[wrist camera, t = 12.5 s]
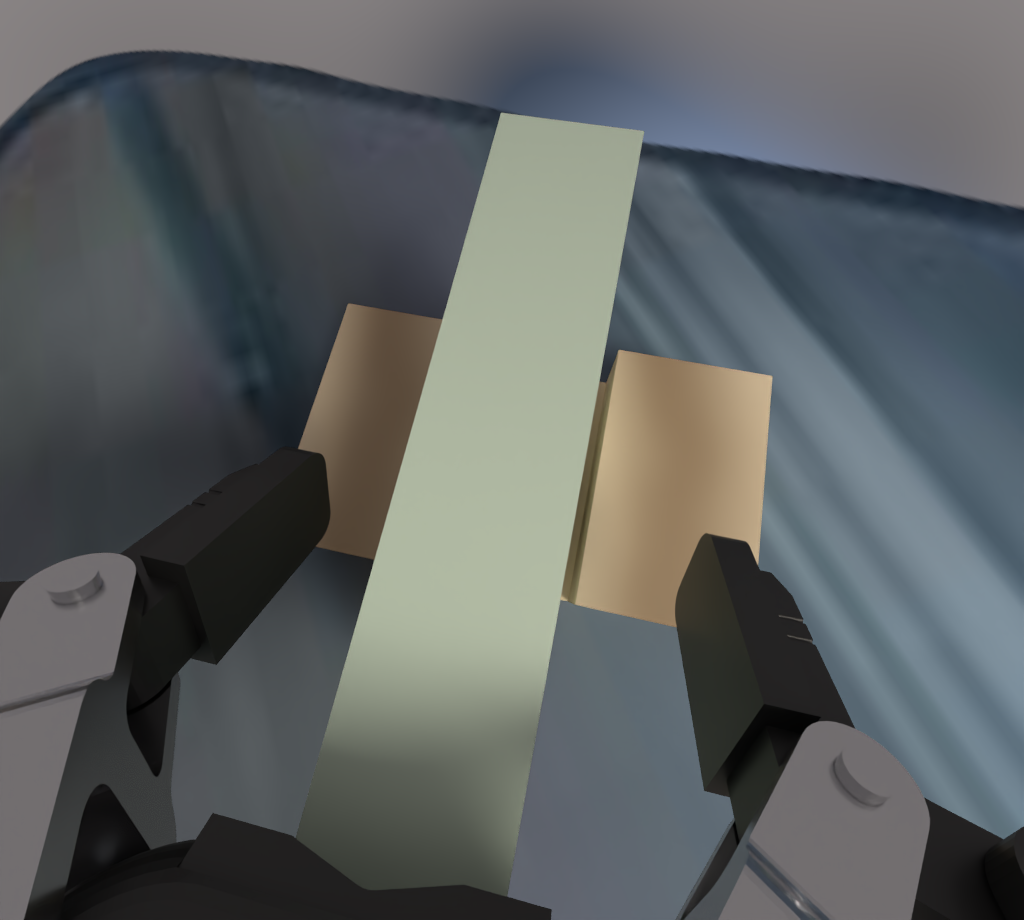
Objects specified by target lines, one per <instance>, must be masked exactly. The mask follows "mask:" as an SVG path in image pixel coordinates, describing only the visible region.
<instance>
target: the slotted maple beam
mask: <svg viewBox="0 0 1024 920" xmlns="http://www.w3.org/2000/svg"><path fill="white" fill-rule="evenodd" d="M442 320H443V319H437V318H431V317H425V316H419V315H413V314H408V313H402V312H396V311H390V310H384V309H378V308H373V307H367V306H361V305H355V304H349V303H348V306H347V309H346V311H345V314H344V317H343V320H342V323H341V326H340V329H339V332H338V335H337V338H336V340H335V343H334V346H333V349H332V352H331V355H330V358H329V361H328V364H327V366H326V369H325V372H324V375H323V378H322V381H321V384H320V387H319V390H318V392H317V395H316V398H315V401H314V404H313V407H312V410H311V413H310V416H309V419H308V421H307V424H306V427H305V430H304V433H303V436H302V439H301V442H300V445H299V447H298V449H301V450H306V451H311V452H316V453H320V454H322V455H323V457H324V458H325V462H326V470H327V480H328V490H329V500H330V511H331V514H330V521H329V525H328V528H327V531H326V533H325V535H324V536H323V538H322V539H321V541H320V542H319V543H318V544H317V545H316V547H319V548H324V549H328V550H333V551H337V552H342V553H346V554H351V555H355V556H360V557H364V558H369V559H373V560H375V556H376V553H377V549H378V546H379V542H380V539H381V535H382V532H383V528H384V525H385V521H386V518H387V514H388V510H389V507H390V503H391V500H392V496H393V493H394V489H395V486H396V482H397V479H398V475H399V472H400V468H401V465H402V461H403V458H404V454H405V450H406V447H407V443H408V440H409V436H410V433H411V429H412V426H413V422H414V419H415V415H416V412H417V408H418V405H419V401H420V398H421V394H422V390H423V387H424V383H425V380H426V376H427V373H428V369H429V366H430V362H431V359H432V355H433V352H434V348H435V345H436V341H437V338H438V334H439V330H440V327H441V323H442ZM771 387H772V376H769V375H763V374H757V373H751V372H745V371H740V370H734V369H728V368H722V367H716V366H711V365H705V364H699V363H693V362H687V361H681V360H676V359H670V358H664V357H658V356H652V355H646V354H641V353H635V352H629V351H623V350H619V351H618V353H617V356H616V359H615V361H614V364H613V366H612V369H611V372H610V374H609V377H608V379H607V382H606V383H605V382H600V381H599V386H598V392H597V397H596V403H595V409H594V414H593V420H592V425H591V431H590V436H589V442H588V448H587V453H586V459H585V464H584V470H583V476H582V481H581V487H580V492H579V498H578V503H577V509H576V515H575V520H574V526H573V531H572V537H571V543H570V548H569V554H568V559H567V565H566V570H565V576H564V582H563V587H562V593H561V598H560V600H564V601H568V602H571V603H573V604H575V605H579V606H584V607H588V608H593V609H597V610H601V611H606V612H610V613H615V614H619V615H624V616H628V617H633V618H637V619H642V620H646V621H651V622H655V623H660V624H664V625H669V626H673V627H677V626H676V620H675V603H676V596H677V592H678V589H679V586H680V584H681V581H682V579H683V577H684V575H685V572H686V570H687V568H688V565H689V563H690V561H691V558H692V556H693V554H694V551H695V549H696V547H697V544H698V542H699V540H700V538H701V537H702V536H703V535H704V534H705V533H708V534H713V535H718V536H723V537H728V538H733V539H738V540H743V541H746V542H747V543H748V544H749V546H750V548H751V550H752V553H753V555H754V558H755V560H756V562H757V565H758V558H759V545H760V532H761V519H762V505H763V492H764V479H765V466H766V453H767V440H768V427H769V413H770V400H771Z"/></svg>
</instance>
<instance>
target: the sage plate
mask: <svg viewBox="0 0 1024 920" xmlns="http://www.w3.org/2000/svg"><path fill="white" fill-rule="evenodd" d="M643 135H644V131H639V130H631V129H623V128H615V127H608V126H600V125H592V124H584V123H576V122H569V121H561V120H553V119H545V118H538V117H530V116H522V115H514V114H506V113H501V115H500V119H499V122H498V126H497V129H496V133H495V136H494V140H493V143H492V147H491V150H490V154H489V158H488V161H487V165H486V168H485V172H484V175H483V179H482V182H481V186H480V189H479V193H478V196H477V200H476V203H475V207H474V210H473V214H472V218H471V221H470V225H469V228H468V232H467V235H466V239H465V242H464V246H463V249H462V253H461V256H460V260H459V263H458V267H457V270H456V274H455V278H454V281H453V285H452V288H451V292H450V295H449V299H448V302H447V306H446V309H445V313H444V316H443V320H442V323H441V327H440V330H439V334H438V338H437V341H436V345H435V348H434V352H433V355H432V359H431V362H430V366H429V369H428V373H427V376H426V380H425V383H424V387H423V390H422V394H421V398H420V401H419V405H418V408H417V412H416V415H415V419H414V422H413V426H412V429H411V433H410V436H409V440H408V443H407V447H406V450H405V454H404V458H403V461H402V465H401V468H400V472H399V475H398V479H397V482H396V486H395V489H394V493H393V496H392V500H391V503H390V507H389V510H388V514H387V518H386V521H385V525H384V528H383V532H382V535H381V539H380V542H379V546H378V549H377V553H376V556H375V560H374V563H373V567H372V570H371V574H370V578H369V581H368V585H367V588H366V592H365V595H364V599H363V602H362V606H361V609H360V613H359V616H358V620H357V623H356V627H355V630H354V634H353V638H352V641H351V645H350V648H349V652H348V655H347V659H346V662H345V666H344V669H343V673H342V676H341V680H340V683H339V687H338V691H337V694H336V698H335V701H334V705H333V708H332V712H331V715H330V719H329V722H328V726H327V729H326V733H325V736H324V740H323V743H322V747H321V751H320V754H319V758H318V761H317V765H316V768H315V772H314V775H313V779H312V782H311V786H310V789H309V793H308V796H307V800H306V803H305V807H304V811H303V814H302V818H301V821H300V825H299V828H298V832H297V835H296V839H297V840H298V841H300V842H301V843H302V844H304V845H305V846H306V847H308V848H309V849H310V850H312V851H313V852H314V853H316V854H317V855H318V856H320V857H321V858H322V859H324V860H325V861H326V862H328V863H329V864H330V865H332V866H333V867H334V868H336V869H337V870H338V871H340V872H341V873H342V874H344V875H345V876H346V877H348V878H349V879H350V880H352V881H353V882H354V883H356V884H357V885H358V886H360V887H362V888H364V889H368V890H388V889H404V888H419V887H434V886H450V885H467V886H471V887H474V888H478V889H481V890H485V891H488V892H492V893H495V894H499V895H502V896H506V897H507V894H508V889H509V883H510V878H511V872H512V866H513V861H514V855H515V850H516V844H517V839H518V833H519V827H520V822H521V816H522V811H523V805H524V799H525V794H526V788H527V783H528V777H529V772H530V766H531V760H532V755H533V749H534V744H535V738H536V732H537V727H538V721H539V716H540V710H541V705H542V699H543V693H544V688H545V682H546V677H547V671H548V665H549V660H550V654H551V649H552V643H553V638H554V632H555V626H556V621H557V615H558V610H559V604H560V598H561V593H562V587H563V582H564V576H565V570H566V565H567V559H568V554H569V548H570V543H571V537H572V531H573V526H574V520H575V515H576V509H577V503H578V498H579V492H580V487H581V481H582V476H583V470H584V464H585V459H586V453H587V448H588V442H589V436H590V431H591V425H592V420H593V414H594V409H595V403H596V397H597V392H598V386H599V381H600V375H601V369H602V364H603V358H604V353H605V347H606V342H607V336H608V330H609V325H610V319H611V314H612V308H613V302H614V297H615V291H616V286H617V280H618V275H619V269H620V263H621V258H622V252H623V247H624V241H625V235H626V230H627V224H628V219H629V213H630V207H631V202H632V196H633V191H634V185H635V180H636V174H637V168H638V163H639V157H640V152H641V146H642V140H643Z"/></svg>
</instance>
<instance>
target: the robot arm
mask: <svg viewBox="0 0 1024 920" xmlns="http://www.w3.org/2000/svg"><path fill="white" fill-rule="evenodd" d="M330 514H331V511H330V500H329V490H328V480H327V470H326V462H325V458H324V457H323V455H322V454H320V453H316V452H311V451H306V450H301V449H296V448H292V447H282V448H280V449H279V450H277V451H276V452H275V453H273V454H272V455H271V456H270V457H268V458H267V459H266V460H264V461H263V462H262V463H260V464H259V465H258V464H254V465H252V466H249V467H247V468H244V469H242V470H240V471H237V472H235V473H232V474H230V475H228V476H227V477H225V478H224V479H223V480H221V481H220V482H219V483H217V484H216V485H214V486H213V487H212V488H210V489H209V492H208V493H206V492H205V493H203V494H202V495H201V496H199V497H198V498H197V499H195V500H194V501H193V502H192V505H187V506H186V507H184V508H183V509H182V510H180V511H179V512H177V513H176V514H175V515H173V516H172V517H171V518H169V519H168V520H166V521H165V522H164V523H162V524H161V525H160V526H158V527H157V528H155V529H154V530H153V531H151V532H150V533H149V534H147V535H146V536H144V537H143V538H142V539H140V540H139V541H138V542H136V543H135V544H133V545H132V546H131V547H129V548H128V549H127V550H125V551H124V552H123V553H121V554H116V553H94V554H87V555H82V556H78V557H74V558H71V559H67V560H64V561H62V562H59V563H57V564H54V565H52V566H50V567H48V568H46V569H44V570H42V571H40V572H39V573H37V574H35V575H34V576H32V577H31V578H29V579H28V580H27V581H16V582H0V920H551V909H548V908H544V907H541V906H537V905H534V904H530V903H527V902H523V901H520V900H516V899H513V898H509V897H506V896H502V895H499V894H495V893H492V892H488V891H485V890H481V889H478V888H474V887H471V886H467V885H450V886H434V887H419V888H404V889H388V890H368V889H364V888H362V887H360V886H358V885H357V884H356V883H354V882H353V881H352V880H350V879H349V878H348V877H346V876H345V875H344V874H342V873H341V872H340V871H338V870H337V869H336V868H334V867H333V866H332V865H330V864H329V863H328V862H326V861H325V860H324V859H322V858H321V857H320V856H318V855H317V854H316V853H314V852H313V851H312V850H310V849H309V848H308V847H306V846H305V845H304V844H302V843H301V842H300V841H298V840H297V839H296V838H294V837H293V836H291V835H288V834H284V833H281V832H277V831H274V830H270V829H267V828H263V827H260V826H256V825H253V824H249V823H246V822H242V821H239V820H235V819H232V818H228V817H225V816H221V815H218V814H214V813H213V814H212V815H211V817H210V818H209V820H208V822H207V823H206V825H205V826H204V828H203V829H202V831H201V832H200V834H199V836H198V837H197V839H196V840H188V841H183V842H178V843H176V824H175V816H174V811H173V806H172V798H171V779H172V768H173V758H174V747H175V736H176V725H177V715H178V704H179V693H180V676H179V673H178V671H179V670H180V669H181V668H182V667H183V666H184V665H185V663H186V662H187V661H188V660H189V659H190V658H192V659H196V660H200V661H204V662H208V663H212V664H216V665H217V664H218V662H219V661H220V660H221V659H222V658H223V656H224V655H225V654H226V653H227V652H228V650H229V649H230V648H231V647H232V646H233V645H234V643H235V642H236V641H237V640H238V639H239V637H240V636H241V635H242V634H243V633H244V631H245V630H246V629H247V628H248V627H249V625H250V624H251V623H252V622H253V621H254V619H255V618H256V617H257V616H258V615H259V613H260V612H261V611H262V610H263V609H264V607H265V606H266V605H267V604H268V603H269V602H270V600H271V599H272V598H273V597H274V596H275V594H276V593H277V592H278V591H279V590H280V588H281V587H282V586H283V585H284V584H285V582H286V581H287V580H288V579H289V578H290V576H291V575H292V574H293V573H294V572H295V570H296V569H297V568H298V567H299V566H300V565H301V563H302V562H303V561H304V560H305V559H306V557H307V556H308V555H309V554H310V553H311V551H312V550H313V549H314V548H315V547H316V545H317V544H318V543H319V542H320V541H321V539H322V538H323V536H324V535H325V533H326V531H327V528H328V525H329V521H330ZM675 620H676V626H677V632H678V638H679V644H680V650H681V655H682V661H683V667H684V673H685V679H686V685H687V691H688V697H689V703H690V709H691V715H692V721H693V727H694V733H695V738H696V744H697V750H698V756H699V762H700V768H701V774H702V780H703V786H704V791H707V792H711V793H715V794H719V795H723V796H727V797H730V799H731V804H732V809H733V814H734V819H733V820H732V821H731V823H730V824H729V825H728V827H727V829H726V830H725V832H724V834H723V836H722V837H721V839H720V841H719V843H718V845H717V846H716V848H715V850H714V852H713V853H712V855H711V857H710V859H709V861H708V862H707V864H706V866H705V868H704V870H703V871H702V873H701V875H700V877H699V878H698V880H697V882H696V884H695V886H694V887H693V889H692V891H691V893H690V894H689V896H688V898H687V900H686V902H685V903H684V905H683V907H682V909H681V910H680V912H679V914H678V916H677V918H676V919H675V920H1024V827H1022V828H1020V829H1019V830H1017V831H1016V832H1014V833H1013V834H1011V835H1010V836H1008V837H1007V838H1005V839H1002V838H1000V837H998V836H996V835H994V834H992V833H990V832H988V831H987V830H985V829H983V828H981V827H979V826H977V825H975V824H973V823H971V822H969V821H967V820H965V819H964V818H962V817H960V816H958V815H956V814H954V813H952V812H950V811H948V810H946V809H944V808H942V807H941V806H939V805H937V804H935V803H933V802H931V801H929V800H928V799H926V798H924V797H923V795H922V793H921V791H920V789H919V787H918V786H917V784H916V783H915V781H914V779H913V778H912V777H911V775H910V774H909V773H908V771H907V770H906V769H905V768H904V767H903V765H902V764H901V763H900V762H899V761H898V760H897V759H896V758H895V757H894V756H893V755H892V754H891V753H890V752H889V751H887V750H886V749H885V748H884V747H883V746H881V745H880V744H879V743H877V742H876V741H875V740H873V739H872V738H870V737H869V736H867V735H866V734H864V733H862V732H860V731H858V730H856V729H855V727H854V725H853V723H852V721H851V719H850V717H849V715H848V713H847V710H846V708H845V706H844V704H843V702H842V700H841V698H840V696H839V694H838V691H837V689H836V687H835V685H834V683H833V681H832V679H831V677H830V675H829V672H828V670H827V668H826V666H825V664H824V662H823V660H822V658H821V656H820V654H819V651H818V649H817V647H816V645H813V644H812V641H813V639H812V637H811V635H810V632H809V630H808V628H807V626H806V624H803V618H802V616H801V613H800V611H799V609H798V607H797V605H796V603H795V601H794V599H793V597H792V595H791V594H790V593H789V592H788V591H787V589H786V588H785V587H784V586H783V585H782V584H781V583H780V582H779V581H778V580H777V579H776V578H775V576H774V575H773V574H772V573H770V572H765V571H760V569H759V567H758V565H757V562H756V560H755V558H754V555H753V553H752V550H751V548H750V546H749V544H748V543H747V542H746V541H743V540H738V539H733V538H728V537H723V536H718V535H713V534H708V533H705V534H704V535H703V536H702V537H701V538H700V540H699V542H698V544H697V547H696V549H695V551H694V554H693V556H692V558H691V561H690V563H689V565H688V568H687V570H686V572H685V575H684V577H683V579H682V581H681V584H680V586H679V589H678V592H677V596H676V603H675Z"/></svg>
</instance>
